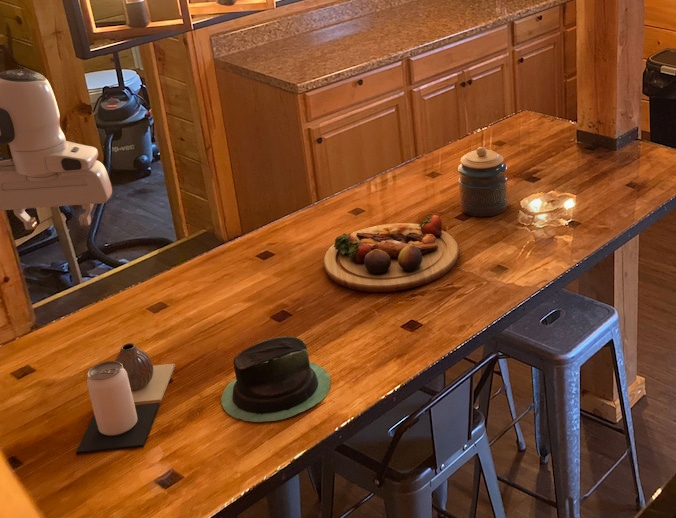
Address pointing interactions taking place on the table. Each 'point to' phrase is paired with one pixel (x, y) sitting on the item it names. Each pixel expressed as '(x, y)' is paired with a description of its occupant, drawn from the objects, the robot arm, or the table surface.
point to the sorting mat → (146, 411)
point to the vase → (136, 365)
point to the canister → (483, 183)
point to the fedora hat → (274, 381)
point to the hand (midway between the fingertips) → (59, 226)
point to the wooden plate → (391, 256)
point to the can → (111, 398)
